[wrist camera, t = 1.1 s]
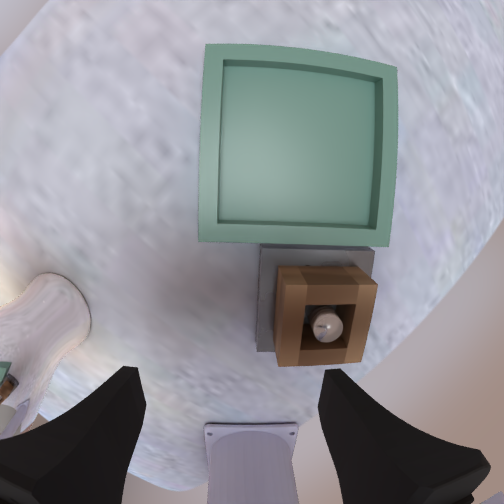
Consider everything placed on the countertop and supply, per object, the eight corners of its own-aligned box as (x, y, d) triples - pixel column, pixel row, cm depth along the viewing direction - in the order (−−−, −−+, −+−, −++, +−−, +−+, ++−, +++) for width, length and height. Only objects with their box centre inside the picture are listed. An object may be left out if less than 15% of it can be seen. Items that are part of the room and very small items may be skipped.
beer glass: (110, 344, 20) (20, 509, 6) (46, 351, 20) (-46, 474, 6) (75, 257, 18) (-87, 384, 4) (13, 275, 19) (-118, 373, 4)
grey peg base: (351, 339, 21) (372, 375, 17) (255, 342, 21) (259, 382, 16) (367, 246, 19) (398, 268, 15) (260, 243, 19) (266, 266, 14)
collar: (346, 336, 19) (360, 362, 17) (273, 339, 19) (278, 366, 16) (358, 266, 18) (377, 284, 15) (278, 265, 18) (285, 284, 15)
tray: (375, 239, 19) (388, 247, 17) (202, 233, 18) (198, 241, 16) (382, 74, 16) (396, 66, 14) (208, 55, 15) (205, 43, 13)
